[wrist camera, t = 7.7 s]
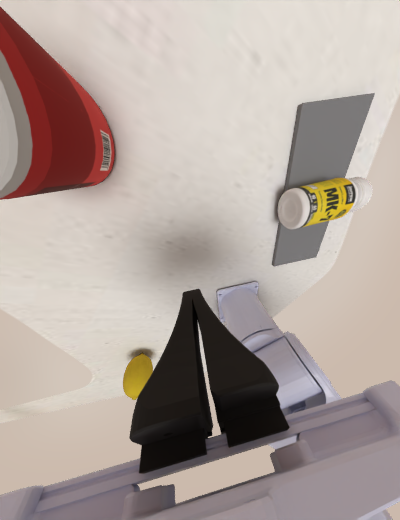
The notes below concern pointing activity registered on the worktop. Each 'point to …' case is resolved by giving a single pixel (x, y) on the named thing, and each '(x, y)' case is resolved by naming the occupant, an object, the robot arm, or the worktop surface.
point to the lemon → (137, 375)
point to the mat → (319, 163)
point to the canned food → (46, 122)
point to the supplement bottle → (323, 201)
